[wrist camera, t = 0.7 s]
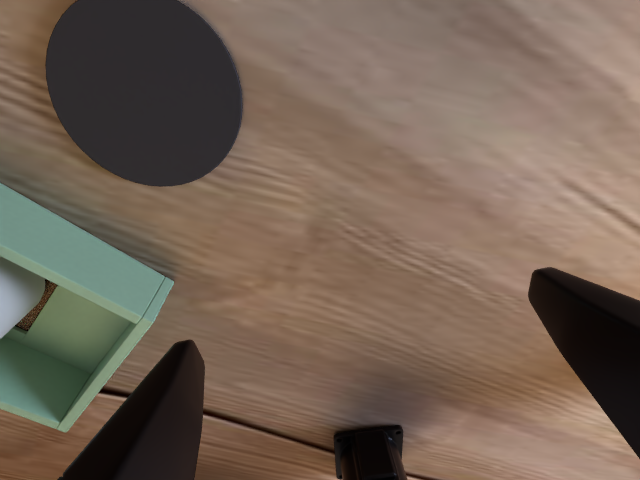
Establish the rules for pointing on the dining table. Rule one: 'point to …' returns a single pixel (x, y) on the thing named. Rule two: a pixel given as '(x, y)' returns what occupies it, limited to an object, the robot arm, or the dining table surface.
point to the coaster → (144, 89)
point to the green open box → (70, 313)
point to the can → (17, 293)
